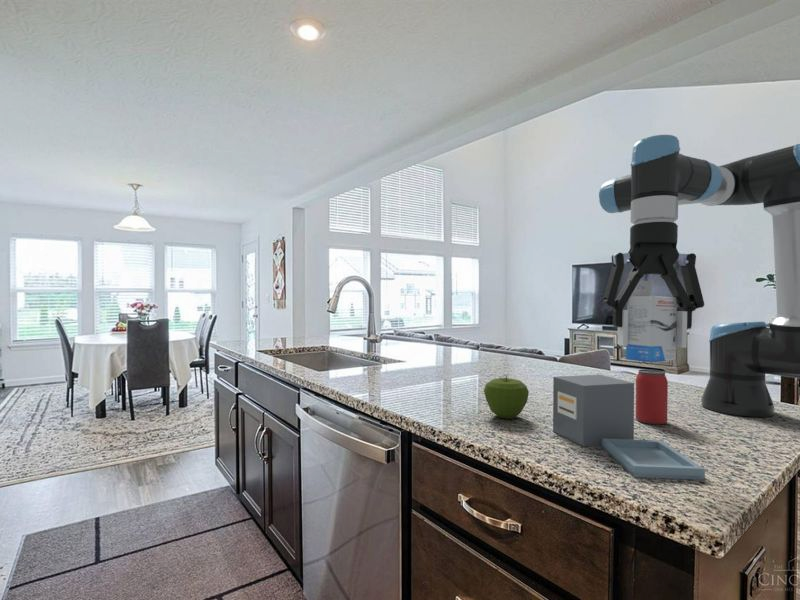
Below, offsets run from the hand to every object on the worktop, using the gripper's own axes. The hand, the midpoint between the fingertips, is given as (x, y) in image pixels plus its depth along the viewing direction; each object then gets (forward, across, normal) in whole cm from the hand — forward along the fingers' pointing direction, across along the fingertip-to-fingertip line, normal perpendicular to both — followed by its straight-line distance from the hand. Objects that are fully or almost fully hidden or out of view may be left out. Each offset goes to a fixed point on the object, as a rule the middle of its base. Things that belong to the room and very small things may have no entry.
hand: (651, 346), depth 79 cm
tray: (+21, +1, +2) cm, 21 cm away
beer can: (+20, -12, -25) cm, 34 cm away
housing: (+21, +6, -12) cm, 25 cm away
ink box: (+3, 0, 0) cm, 3 cm away
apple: (+21, +22, -25) cm, 39 cm away
